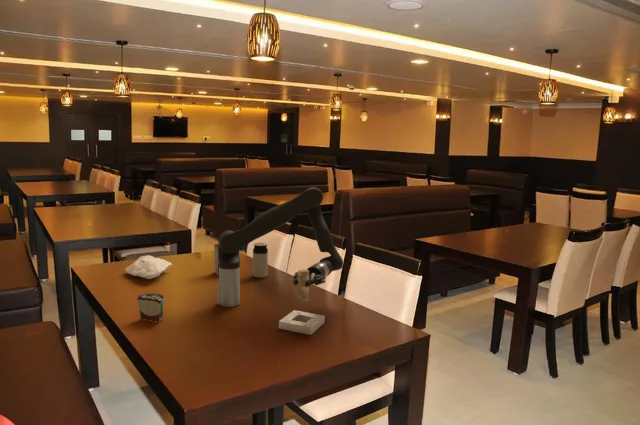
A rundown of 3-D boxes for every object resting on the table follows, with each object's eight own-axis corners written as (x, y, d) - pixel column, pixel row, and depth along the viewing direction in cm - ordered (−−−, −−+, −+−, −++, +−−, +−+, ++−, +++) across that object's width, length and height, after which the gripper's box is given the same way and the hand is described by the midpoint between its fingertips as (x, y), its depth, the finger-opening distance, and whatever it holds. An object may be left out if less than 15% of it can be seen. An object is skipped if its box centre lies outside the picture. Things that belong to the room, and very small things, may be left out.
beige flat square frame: (278, 328, 190) (278, 321, 189) (294, 316, 203) (294, 310, 202) (310, 334, 185) (310, 327, 184) (324, 322, 197) (324, 315, 197)
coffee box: (230, 270, 269) (230, 242, 266) (233, 273, 263) (233, 245, 261) (214, 272, 265) (214, 244, 262) (217, 275, 259) (217, 246, 256)
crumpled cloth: (166, 262, 277) (163, 247, 275) (181, 278, 247) (178, 261, 245) (123, 273, 266) (120, 257, 264) (134, 290, 236) (130, 273, 234)
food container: (172, 318, 197) (171, 295, 195) (162, 323, 191) (162, 299, 190) (147, 313, 201) (146, 291, 199) (137, 318, 195) (136, 295, 194)
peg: (295, 300, 191) (296, 271, 189) (300, 297, 195) (300, 268, 193) (305, 302, 189) (306, 273, 187) (310, 298, 193) (310, 270, 191)
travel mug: (264, 278, 256) (265, 245, 253) (250, 277, 258) (250, 244, 255) (269, 274, 264) (269, 242, 261) (255, 273, 265) (255, 241, 263)
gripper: (302, 262, 206) (284, 272, 190) (333, 266, 201) (317, 276, 185) (302, 278, 207) (284, 290, 192) (332, 283, 202) (316, 295, 186)
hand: (300, 283), depth 188 cm, fingers closed on peg, 4 cm apart
